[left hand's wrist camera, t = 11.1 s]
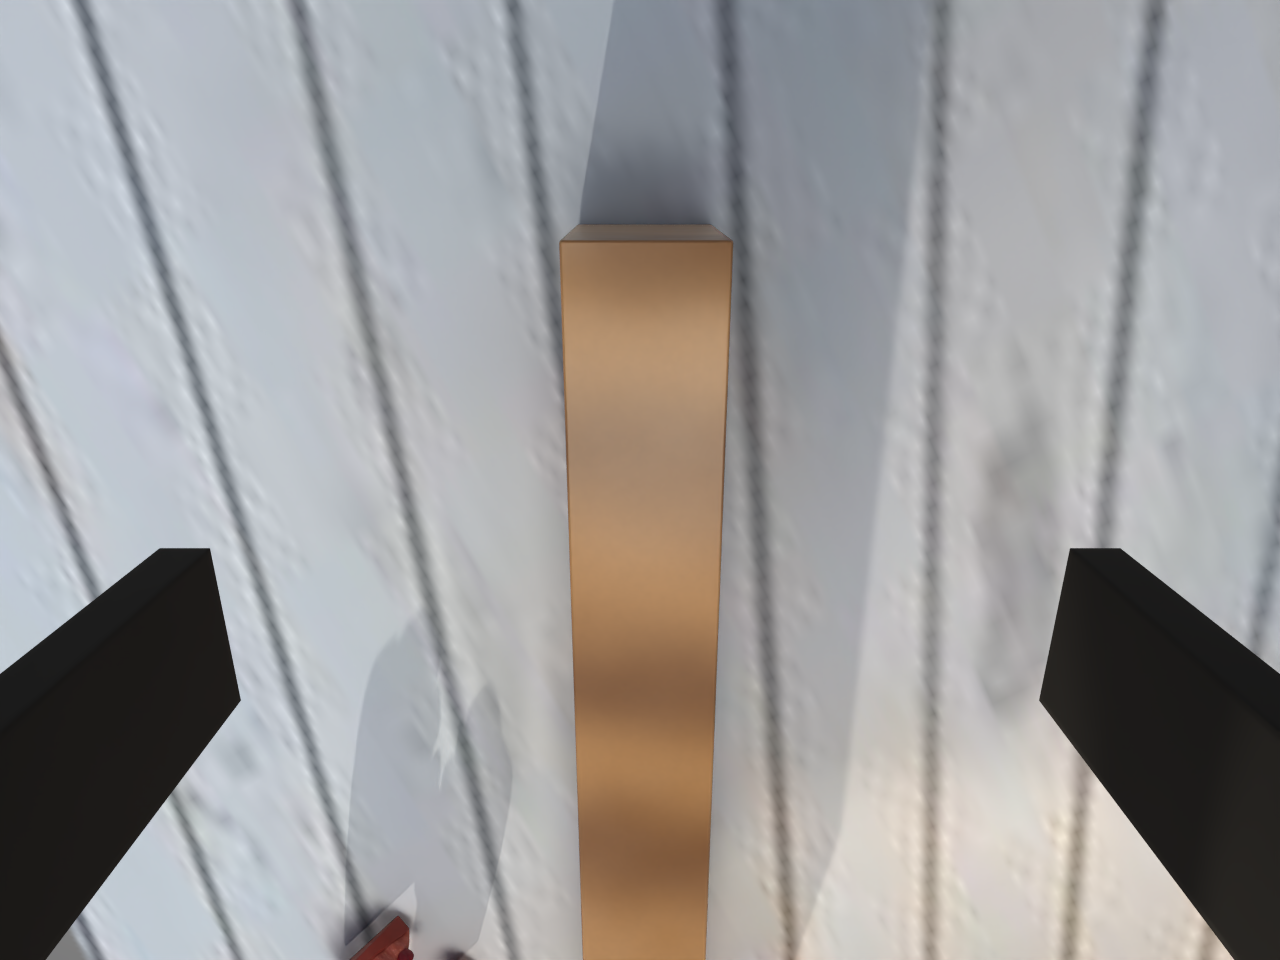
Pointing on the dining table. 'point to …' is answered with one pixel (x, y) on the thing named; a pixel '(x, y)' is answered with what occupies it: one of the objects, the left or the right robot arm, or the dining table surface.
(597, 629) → the bar
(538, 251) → the dining table surface
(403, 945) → the dark red rounded lump
